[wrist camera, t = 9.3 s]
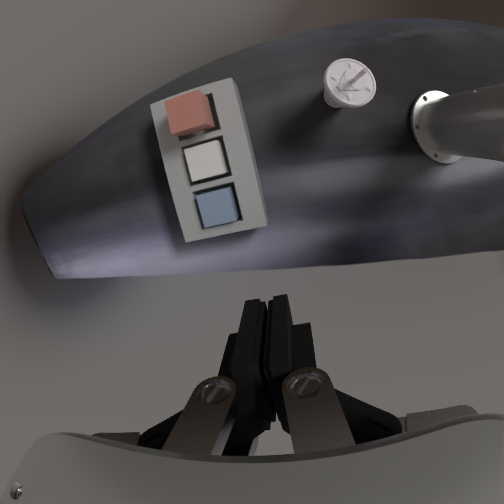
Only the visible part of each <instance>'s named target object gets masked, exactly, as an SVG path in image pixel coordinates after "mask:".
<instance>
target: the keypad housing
mask: <svg viewBox="0 0 504 504" xmlns="http://www.w3.org/2000/svg"><path fill="white" fill-rule="evenodd" d="M196 90H199V91H201V92H202V93H203V94H205V95H206V96H207V97H208V100H209V105H210V109H211V113H212V117H213V121H214V125H215V127H212V128H209V129H205V130H202V131H198V132H195V133H192V134H189V135H186V136H179V135H172V134H171V130H170V126H169V122H168V117H167V113H166V108H165V104H164V102H165V101H167V100H170V99H173V98H175V97H178V96H181V95H184V94H187V93H190V92H193V91H196ZM150 106H151V111H152V116H153V120H154V125H155V129H156V134H157V138H158V142H159V146H160V151H161V155H162V159H163V163H164V167H165V171H166V175H167V178H168V182H169V186H170V190H171V193H172V197H173V201H174V204H175V208H176V211H177V215H178V218H179V222H180V225H181V228H182V232H183V235H184V238H185V242H191V241H196V240H201V239H205V238H210V237H215V236H220V235H225V234H229V233H234V232H239V231H244V230H249V229H254V228H259V227H264V226H267V224H268V218H269V217H268V212H267V208H266V204H265V199H264V195H263V190H262V186H261V182H260V177H259V173H258V169H257V164H256V160H255V156H254V152H253V148H252V143H251V139H250V135H249V131H248V127H247V123H246V119H245V115H244V111H243V107H242V103H241V99H240V95H239V91H238V87H237V85H236V84H235V82H234V81H233V79H232V78H228V79H224V80H221V81H217V82H214V83H210V84H207V85H204V86H200V87H197V88H194V89H191V90H188V91H185V92H182V93H180V94H177V95H174V96H171V97H169V98H166V99H163V100H161V101H158V102H156V103H153V104H151V105H150ZM215 140H218V141H222V142H223V143H224V147H225V151H226V155H227V159H228V164H229V168H230V171H229V172H226V173H223V174H219V175H215V176H212V177H208V178H204V179H200V180H197V181H193V182H192V179H191V175H190V172H189V168H188V164H187V160H186V156H185V152H184V150H185V149H188V148H191V147H194V146H198V145H201V144H205V143H208V142H212V141H215ZM233 184H234V188H235V192H236V196H237V200H238V204H239V208H240V212H241V214H240V216H239V217H238V219H237V221H233V222H229V223H224V224H219V225H215V226H210V227H206V228H205V227H204V224H203V220H202V217H201V213H200V209H199V206H198V202H197V198H196V196H197V195H199V194H201V193H202V192H204V191H208V190H212V189H216V188H220V187H224V186H228V185H233Z"/></svg>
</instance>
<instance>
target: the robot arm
mask: <svg viewBox="0 0 504 504" xmlns="http://www.w3.org/2000/svg"><path fill="white" fill-rule="evenodd" d="M423 99H424V100H423ZM411 127H412V132H413V135H414V138H415V140H416V142H417V144H418V145H419V147H420V148H421V150H422V151H423V152H424V153H425V154H426V155H427V156H428V157H429V158H431V159H432V160H434V161H436V162H439V163H445V164H449V163H454V162H456V161H458V160H459V159H461V157H462V156H467V157H476V158H483V159H490V160H497V161H503V162H504V83H503V84H499V85H494V86H489V87H484V88H479V89H475V90H470V91H465V92H461V93H457V94H453V95H448V94H446V93H444V92H441V91H436V90H434V91H428V92H425V93H423V94H421V95H420V96H419V97H418V98H417V99H416V100H415V102H414V104H413V106H412V110H411ZM416 127H417V128H416ZM276 412H277V415H278V418H279V421H280V422H281V425H282V428H283V430H284V431H286V432H287V433H289V434H290V435H291V439H292V444H293V449H294V454H286V455H285V454H284V455H268V456H254V454H255V451H256V448H257V445H258V436H259V435H260V434H261V433H262V432H264V430H270V424H271V422H275V420H276ZM0 504H504V415H502V414H492V413H491V414H489V413H487V414H477V412H476V411H475V410H474V409H473V408H472V407H470V406H467V405H458V406H454V407H448V408H443V409H437V410H431V411H424V412H417V413H409V414H406V417H398V418H397V417H396V416H394V415H392V414H391V413H388V412H386V411H383V410H381V409H378V408H376V407H374V406H372V405H369V404H367V403H365V402H363V401H360V400H358V399H356V398H354V397H351V396H349V395H347V394H345V393H343V392H340V391H339V390H336V389H334V387H333V384H332V382H331V380H330V377H329V376H328V374H327V373H326V372H325V371H323V370H321V369H318V368H316V361H315V354H314V345H313V338H312V331H311V325H310V323H305V324H299V325H293V322H292V317H291V312H290V306H289V301H288V297H287V294H285V295H279V296H274V297H273V300H270V301H269V302H268V311H267V306H266V303H265V301H264V302H261V301H260V299H254V300H247V301H245V305H244V309H243V313H242V318H241V322H240V327H239V331H238V333H233V334H230V335H229V337H228V341H227V344H226V348H225V351H224V355H223V359H222V362H221V366H220V370H219V374H218V376H217V377H212V378H208V379H206V380H204V381H202V382H201V383H200V384H198V385H197V387H196V388H195V389H194V391H193V393H192V395H191V397H190V398H189V400H188V402H187V404H186V406H185V407H184V409H183V410H182V411H180V412H178V413H177V414H175V415H173V416H171V417H170V418H168V419H166V420H164V421H163V422H161V423H159V424H157V425H155V426H154V427H152V428H150V429H148V430H147V431H145V432H144V433H143V434H142V435H141V434H140V433H139V432H129V433H128V432H127V433H96V434H94V435H86V434H79V433H70V432H59V433H50V434H46V435H43V436H41V437H39V438H38V439H37V440H36V441H35V442H34V443H33V444H32V446H31V447H30V448H29V450H28V451H27V452H26V454H25V455H24V457H23V458H22V460H21V461H20V463H19V465H18V466H17V468H16V470H15V472H14V473H13V475H12V477H11V479H10V481H9V482H8V484H7V486H6V488H5V490H4V492H3V494H2V497H1V499H0Z"/></svg>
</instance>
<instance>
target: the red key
mask: <svg viewBox="0 0 504 504" xmlns="http://www.w3.org/2000/svg"><path fill="white" fill-rule="evenodd" d="M164 104H165V108H166V113H167V117H168V122H169V126H170V130H171V134H172V135H179V136H186V135H189V134H192V133H195V132H198V131H202V130H205V129H209V128H212V127H215V125H214V121H213V117H212V113H211V109H210V105H209V100H208V97H207V96H206V95H205V94H203V93H202V92H201V91H199V90H196V91H193V92H190V93H187V94H184V95H181V96H178V97H175V98H173V99H170V100H167V101H165V102H164Z"/></svg>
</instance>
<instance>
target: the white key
mask: <svg viewBox="0 0 504 504" xmlns="http://www.w3.org/2000/svg"><path fill="white" fill-rule="evenodd" d="M184 152H185V156H186V160H187V164H188V168H189V172H190V175H191V179H192V182H193V181H197V180H200V179H204V178H208V177H212V176H215V175H219V174H223V173H226V172H229V171H230V168H229V164H228V159H227V155H226V151H225V147H224V143H223V142H222V141H218V140H215V141H212V142H208V143H205V144H201V145H198V146H194V147H191V148H188V149H185V150H184Z"/></svg>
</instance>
